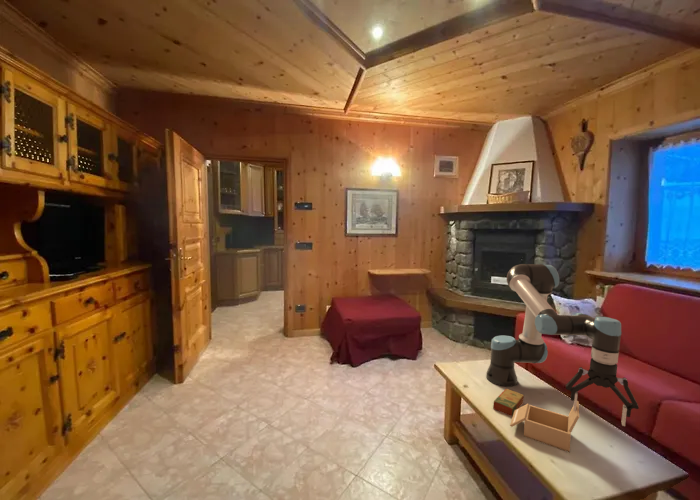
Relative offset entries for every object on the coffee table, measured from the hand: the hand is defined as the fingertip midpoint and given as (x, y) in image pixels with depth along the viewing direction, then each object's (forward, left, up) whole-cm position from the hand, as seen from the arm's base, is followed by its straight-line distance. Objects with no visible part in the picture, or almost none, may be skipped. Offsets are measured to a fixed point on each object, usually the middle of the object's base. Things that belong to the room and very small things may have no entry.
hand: (597, 416), depth 114 cm
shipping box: (0, -18, -13) cm, 22 cm away
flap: (0, -8, -6) cm, 10 cm away
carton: (-14, -31, -14) cm, 37 cm away
